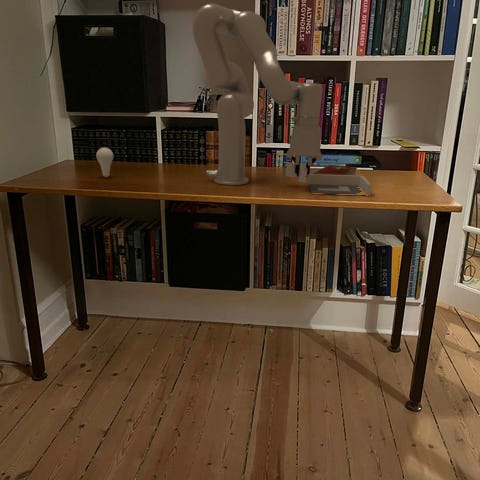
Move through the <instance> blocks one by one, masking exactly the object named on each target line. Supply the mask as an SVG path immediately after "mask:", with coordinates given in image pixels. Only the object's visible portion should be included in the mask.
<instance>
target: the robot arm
mask: <svg viewBox="0 0 480 480" xmlns="http://www.w3.org/2000/svg"><path fill="white" fill-rule="evenodd" d="M192 22H193V23H192V35H193V39H194V42H195V45H196V47H197V50H198V53H199V56H200V58H201V61H202V64H203V66H204V70H205V72H206V74H207V77H208V80H209V83H210V84H211V86H212V87H213V88H214V89H216V90H218V91H223V93H224V94H222V95H221V96H220V97H219V99H218V101H217V104H216V114H217V121H218V168H217V169H215V170H212V169H211V170H210V169H207V170H206V176H209V177H215V178H214V179H213V180H214V183H216V184H219V185H220V184H221V185H225V186H240V185H247V184H248V183H249V182H250V180H249V179H250V178H248V177H246V176H245V169H246V168H245V167H246V123H245V122H246V121H245V119H246V118H248V117H250V115H251V114H252V113H253V111H254V108H255V102H254V97H253V95H252V92H251V89H250V87H249V84H248V81H247V78H246V76H245V73H244V71H243V70H242V68H241V67H240V66H239V65H238V64H236V63H235V62H232V61H230V59H229V58H228V55H227V53H226V50H225V47H224V44H223V43H222V41H221V39H220V37H219V34H220V35H224V36H225V35H226V36H230V37H235V38H239V40H240V42H241V43H242V45H243V47H244V48H245V50H246V51H247V53H248V55H249V56H250V58H251V60H252V61H253V62H254V66H255V69H256V71H257V74H258V76H259V79H260V80H261V83H262V85H263V86H264V88H265V90H266V91H267V93H268V95H269V96H270V98H271V99H272V100H273V101H274V102H275V103H276V104H278V105H280V106H286V105H287V106H288V105H297V109H296V116H294V117H291V122H294V123H295V124H294V125H293V127H292V132H291V137H290V143H289V148H288V150H287V151H286V153H285V157H286V158H288V159H290V160H292V161H293V162H292V163H295V164H296V167H295V174H297V177H296V178H298V176H299V167H300V163H301V162H300V158H301V157H304V158H307V162H306V163H305V164H306V167H307V176H306V178H308V176H309V174H311V173H310V172H311V166H312V165H313V164H314V163H316V162H317V161H320V160H322V159H323V155H322V152H321V143H322V129H321V126H319V124H320V123H319V122H320V115H321V114H320V113H321V105H322V97H323V86H322V84H320V83H316V82H315V83H314V82H303V83H302V82H299V81H292V80H288V78H287V77H286V75H285V73H284V72H283V70H282V68H281V65H280V63H279V61H278V50H277V47H276V45H275V44H274V42H273V41H272V39H271V37H270V36H269V34H268V32H267V31H266V30H267V25H266V21H265V20H264V18H263V17H262V16H261V15H260V14H258V13H256V12H253V11H250V10H244V11H242V10H241V11H239V10H236V9H231V8H227V7H224V6H222V5H219V4H216V3H206V4H204V5H202V6H201V7H200V8H199V9H198V11H197V12H196V13H195V16H194V18H193V21H192Z"/></svg>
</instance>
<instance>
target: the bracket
mask: <svg viewBox="0 0 480 480" xmlns="http://www.w3.org/2000/svg"><path fill="white" fill-rule="evenodd" d="M299 163H300V167H299V176H298V177H297V174H295V167H296V164H295V163H294V162H286V169H285V170H286V171H285V177H287V178H289V177H290V178H297V180H298V183H306V182H307V177H308V175H307V167H306V164H307V163H301V162H299ZM306 176H307V177H306Z"/></svg>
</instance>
